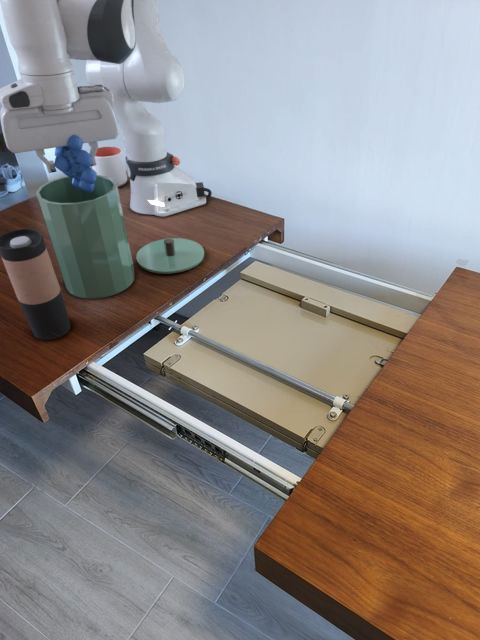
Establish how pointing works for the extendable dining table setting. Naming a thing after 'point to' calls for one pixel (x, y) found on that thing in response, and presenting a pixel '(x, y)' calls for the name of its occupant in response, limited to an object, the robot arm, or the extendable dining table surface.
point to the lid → (170, 255)
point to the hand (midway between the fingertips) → (72, 168)
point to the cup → (111, 164)
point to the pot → (88, 236)
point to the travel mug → (35, 282)
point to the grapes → (76, 164)
